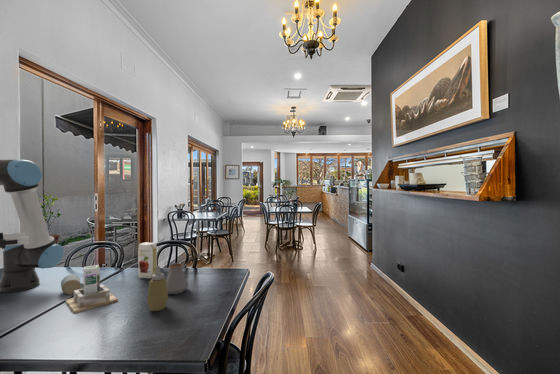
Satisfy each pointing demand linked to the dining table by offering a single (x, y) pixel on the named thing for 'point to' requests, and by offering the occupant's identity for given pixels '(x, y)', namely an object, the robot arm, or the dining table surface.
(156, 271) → the squeeze bottle
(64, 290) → the grey tan cylinder
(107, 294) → the collar socket
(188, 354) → the dining table surface
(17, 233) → the robot arm
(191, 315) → the dining table surface
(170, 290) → the coffee pot
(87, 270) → the syrup box
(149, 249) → the juice carton
